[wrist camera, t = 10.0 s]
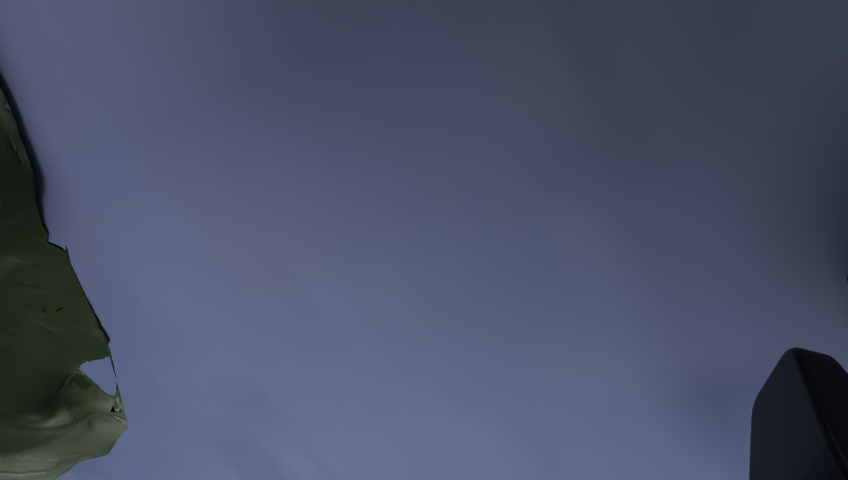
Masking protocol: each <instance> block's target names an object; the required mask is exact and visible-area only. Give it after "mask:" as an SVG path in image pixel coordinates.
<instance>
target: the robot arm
mask: <svg viewBox="0 0 848 480" xmlns="http://www.w3.org/2000/svg"><path fill="white" fill-rule="evenodd" d="M1 213H2V204H1V199H0V218H1ZM847 282H848V277H847ZM749 480H848V373H847V372H846V371H845V370H844V369H843V368H842V366H841V365H840V364H839V363H838V362H837V361H836V360H835V359H834V358H833V357H831V356H829V355H826V354H822V353H818V352H814V351H810V350H806V349H802V348H797V347H796V348H791V349H789V350H787V351H786V352H785V353H784V354H783V356H782V357H781V359H780V360H779V362H778V363H777V365H776V366H775V368H774V370H773V371H772V373H771V374H770V376H769V378H768V379H767V381H766V382H765V384H764V385H763V387H762V389H761V390H760V392H759V393H758V395H757V397H756V400H755V402H754V406H753V410H752V418H751V444H750V471H749Z"/></svg>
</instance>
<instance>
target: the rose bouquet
mask: <svg viewBox="0 0 848 480" xmlns="http://www.w3.org/2000/svg"><path fill="white" fill-rule="evenodd" d="M0 199H1V204H2V213H1V218H0V479H19V480H55V479H57V478H58V477H59V476H60V475H62V474H64V473H65V472H66V471H68V470H69V469H71V468H72V467H73V466H74V465H75V464H77V463H78V462H80V461H83V460H86V459H91V458H95V457H100V456H105V455H107V454H108V453H109V452H110V450H111V449H112V447H113V445H114V444H115V442H116V440H117V439H118V438H119V437H120V436H121V435H122V433H123V432H124V431H125V430H126V429H127V428H128V425H127V421H126V417H125V412H124V408H123V404H122V400H121V396H120V392H119V389H118V385H117V389H116V394H115V396H112V395H108V394H106V393H105V392H104V391H103V390H101V389H100V388H99V386H98V385H97V384H95V383H94V382H93V381H92V380H91V379H90V378H88V377H87V375H86V374H84V373H83V372H81V371H80V370H79V368H80V365H81V364H83V363H85V362H86V361H89V362H90V361H92V360H98V359H103V358H105V357H109V356H110V360H111V363H112V366H113V361H112V357H111V353H110V350H109V347H108V343H109V340H108V338H107V337H106V335H105V334H104V332H103V330H102V329H101V327H100V325H99V323H98V321H97V319H96V317H95V315H94V313H93V311H92V309H91V307H90V305H89V303H88V301H87V299H86V297H85V295H84V292H83V290H82V288H81V286H80V284H79V281H78V279H77V277H76V275H75V273H74V271H73V268H72V266H71V264H70V259H69V254H68V250H67V247H66V252H64V251H63V250H61V249H60V248H58V247H55V246H53V245H50V244H48V243H47V239H48V233H47V232H46V230H45V229H44V227H43V225H42V222H41V218H40V215H39V211H38V208H37V204H36V194H35V181H34V175H33V171H32V168H31V166H30V163H29V159H28V156H27V153H26V150H25V147H24V145H23V142H22V140H21V138H20V135H19V133H18V127H17V124H16V121H15V118H14V116H13V113H12V111H11V109H10V106H9V104H8V102H7V99H6V97H5V95H4V93H3V91H2V90H1V88H0ZM113 369H114V366H113ZM114 373H115V370H114ZM115 376H116V374H115Z"/></svg>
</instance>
